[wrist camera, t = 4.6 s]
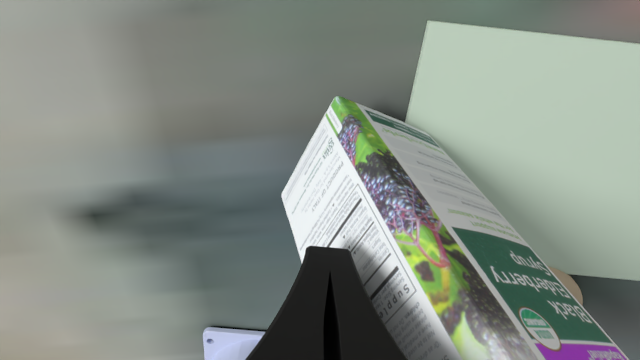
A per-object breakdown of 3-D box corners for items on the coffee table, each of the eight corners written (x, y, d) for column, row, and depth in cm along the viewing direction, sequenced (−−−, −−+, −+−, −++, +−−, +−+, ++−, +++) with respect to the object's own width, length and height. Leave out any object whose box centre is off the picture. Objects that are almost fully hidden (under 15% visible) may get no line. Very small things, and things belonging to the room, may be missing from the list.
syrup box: (430, 130, 19) (771, 487, 8) (368, 217, 22) (561, 575, 11) (333, 90, 16) (656, 559, 5) (275, 197, 19) (411, 653, 8)
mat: (637, 277, 24) (640, 280, 23) (376, 253, 23) (376, 256, 23) (786, 59, 17) (793, 61, 17) (427, 20, 17) (429, 21, 16)
